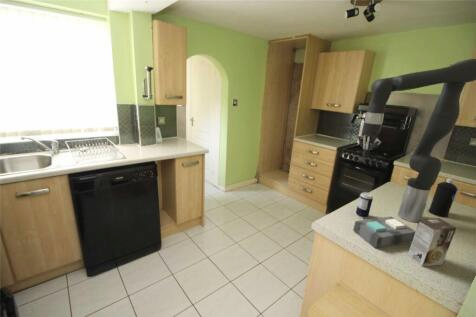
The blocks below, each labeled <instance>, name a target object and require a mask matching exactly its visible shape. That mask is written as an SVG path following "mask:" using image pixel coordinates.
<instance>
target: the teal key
mask: <svg viewBox="0 0 476 317" xmlns="http://www.w3.org/2000/svg"><path fill="white" fill-rule="evenodd" d="M366 226H368V227H369V228H371V229H372V230H373V231H375V232H381V231H385V230H386V227H384V226H383V225H381V224H380V223H378V222H377V221H374V222H367V224H366Z"/></svg>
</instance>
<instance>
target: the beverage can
mask: <svg viewBox="0 0 476 317" xmlns="http://www.w3.org/2000/svg"><path fill="white" fill-rule="evenodd" d="M358 197H359V198H358V202H357V205H356V206H357V207H356V210H355V214H356V215H357V216H358V217H359V218H362V219H367V218H368V217H369V215H370V211H371V207H372V204H373V200H374V198H373V194H372V193H370V192H365V191H364V192H360V194H359V196H358Z"/></svg>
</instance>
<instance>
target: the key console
mask: <svg viewBox="0 0 476 317" xmlns="http://www.w3.org/2000/svg"><path fill="white" fill-rule="evenodd" d="M389 219H396V218H395V217H393V216H385V217H378V218H377V217H376V218H375V217H374V218H370V219H367V218H366V219H361V220H355V221H354V226H353V229H352V231H353V232H354V233H355V234H356V235H358V236H359V237H360V238H362V240H364V241H365V242H367V243H368V244H369V245H370V246H371V247H373V248H374V249H381V248H385V247H386V248H387V247H390V246H391V247H392V246H396V245H402V244H409V243H412V241H413V238H414V235H415V232H416V229H413V228H411V227H410V226H408V225H406V224H405V223H404V222H401V221H400V220H398V219H396V220H397V221H399V222H401V223H402V224H404V225H405V227H404V228H401V229H394V228H393V227H391V226H390V225H388V224H386V223H385V221H386V220H389ZM374 221H377V222H378V223H380V224H381V225H383V226H384V227H386V230H385V231H381V232H375V231H373V230H372V229H371V228H369V227H368V226H366V224H367V222H374Z"/></svg>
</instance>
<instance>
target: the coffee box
mask: <svg viewBox="0 0 476 317" xmlns="http://www.w3.org/2000/svg"><path fill="white" fill-rule="evenodd" d="M456 230H457V227H456V226H454V225H452V224H450V223H449V222H448V221H445V220H443V219H442V218H441V217H440V218H439V217H436V218H421V219H420V220H419V222H417V227H416V229H415V231H416V232H415V235H414V238H413V241H412V242H411V243H410V244H411V245H410V248H409V250H408V253H407V255H408V257H410V259H412V260H414V262H416V263H417V264H418V265H419V266H421V267H431V266H441V265H443V264H444V261H445V259H446V257H447V253H448V251H449V248H450V245H451V243H452V240H453V238H454V235H455V232H456Z"/></svg>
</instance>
